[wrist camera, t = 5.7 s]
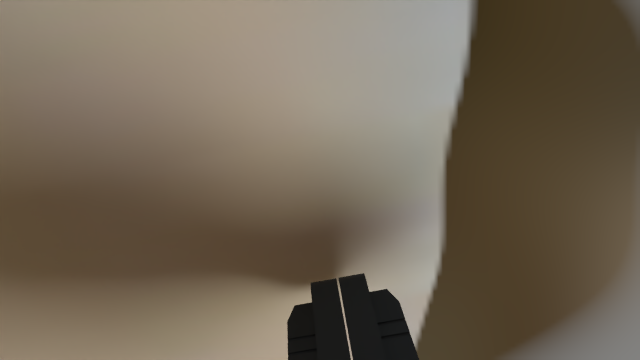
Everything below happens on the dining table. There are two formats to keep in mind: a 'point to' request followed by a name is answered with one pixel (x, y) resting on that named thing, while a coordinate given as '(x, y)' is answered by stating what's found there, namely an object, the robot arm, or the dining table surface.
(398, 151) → the dining table surface
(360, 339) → the robot arm
